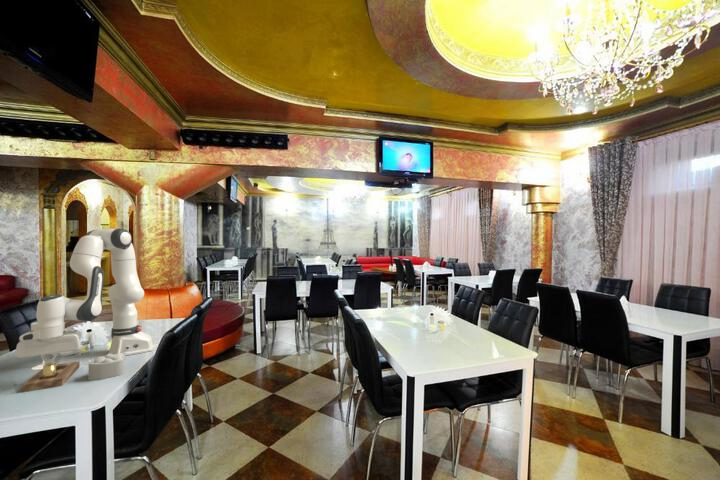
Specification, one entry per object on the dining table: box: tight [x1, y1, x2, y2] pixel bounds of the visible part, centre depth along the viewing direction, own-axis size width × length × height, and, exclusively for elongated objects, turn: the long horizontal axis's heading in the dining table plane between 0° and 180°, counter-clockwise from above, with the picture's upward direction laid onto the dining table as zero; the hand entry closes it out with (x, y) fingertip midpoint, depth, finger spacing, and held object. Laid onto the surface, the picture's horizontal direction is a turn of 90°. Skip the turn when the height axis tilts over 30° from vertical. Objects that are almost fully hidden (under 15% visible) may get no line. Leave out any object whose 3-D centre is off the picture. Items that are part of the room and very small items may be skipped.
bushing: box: [43, 362, 57, 379], centre depth 130 cm, size 4×4×8 cm
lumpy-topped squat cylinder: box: [87, 353, 126, 381], centre depth 139 cm, size 10×13×9 cm
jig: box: [22, 360, 81, 393], centre depth 134 cm, size 12×22×3 cm, turn 29°
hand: (49, 363), depth 130 cm, fingers closed
